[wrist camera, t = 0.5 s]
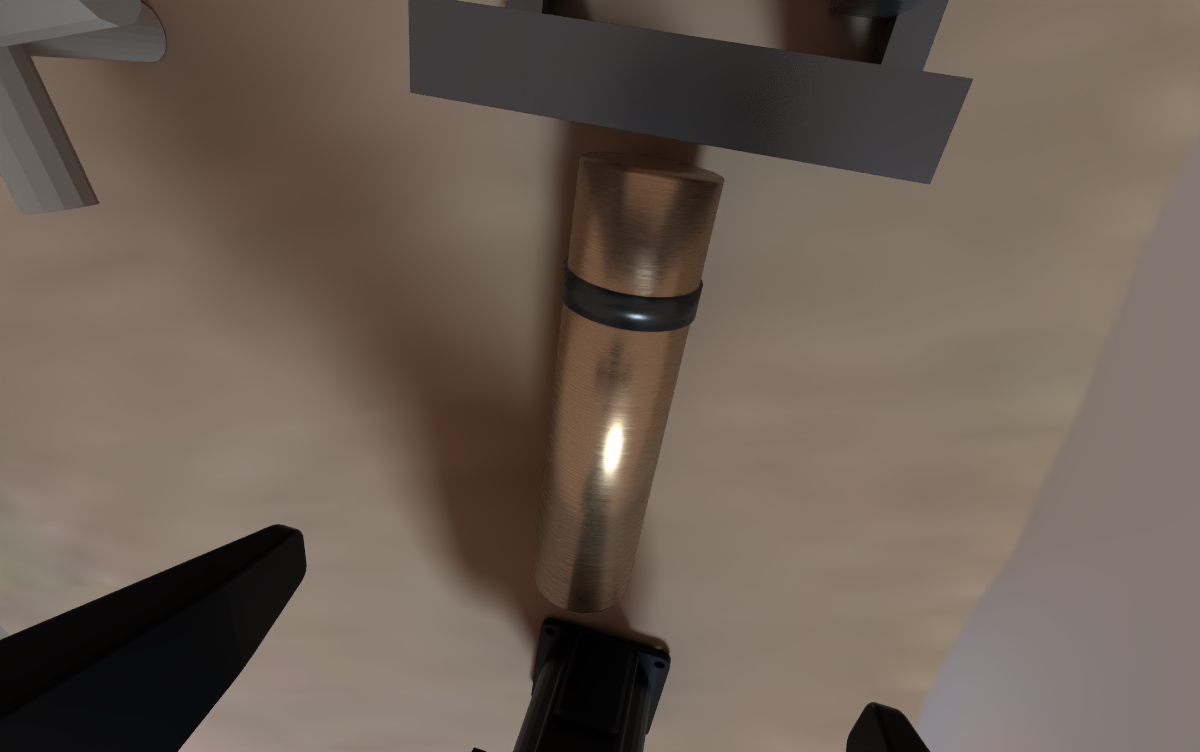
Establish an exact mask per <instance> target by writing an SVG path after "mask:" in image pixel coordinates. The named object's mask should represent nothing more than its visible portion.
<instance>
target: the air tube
mask: <svg viewBox="0 0 1200 752" xmlns="http://www.w3.org/2000/svg"><path fill="white" fill-rule="evenodd" d="M723 184H724V178H723V177H722V176H720V175H718V174H716V173H714V172H711V171H709V170H706V169H703V168H699V167H696V166H692V165H688V164H684V163H680V162H675V161H670V160H665V159H659V158H653V157H647V156H640V155H632V154H623V153H609V152H592V153H585V154H582V155H580V158H579V166H578V175H577V184H576V193H575V202H574V210H573V219H572V228H571V237H570V246H569V255H568V257H567V258H566V259H565V261H564V269H563V278H562V287H561V299H562V301H563V308H562V316H561V325H560V334H559V343H558V352H557V360H556V369H555V378H554V387H553V396H552V405H551V413H550V422H549V431H548V440H547V449H546V458H545V466H544V475H543V484H542V493H541V502H540V511H539V519H538V528H537V537H536V546H535V555H534V563H533V576H534V580H535V583H536V585H537V587H538V589H539V590H540V592H541V593H542V594H543V595H544V596H545V597H546V598H547V599H548V600H549V601H550V602H552V603H553V604H555V605H557V606H559V607H561V608H563V609H566V610H569V611H573V612H579V613H591V612H597V611H601V610H604V609H607V608H609V607H611V606H612V605H614V604H615V603H617V602H618V601H619V600H620V599H621V598H622V596H623V595H624V593H625V592H626V589H627V587H628V583H629V579H630V575H631V571H632V566H633V562H634V558H635V554H636V550H637V545H638V541H639V537H640V533H641V529H642V524H643V520H644V516H645V512H646V508H647V503H648V499H649V495H650V491H651V487H652V482H653V478H654V474H655V470H656V466H657V461H658V457H659V453H660V449H661V445H662V440H663V436H664V432H665V428H666V423H667V419H668V415H669V411H670V407H671V402H672V398H673V394H674V390H675V386H676V381H677V377H678V373H679V369H680V365H681V360H682V356H683V352H684V348H685V344H686V339H687V335H688V331H689V327H690V324H691V323H692V322H693V321H694V319H695V316H696V312H697V308H698V304H699V299H700V295H701V291H702V287H703V282H702V280H701V276H702V272H703V268H704V264H705V260H706V255H707V251H708V247H709V243H710V239H711V234H712V230H713V226H714V222H715V218H716V213H717V209H718V205H719V201H720V196H721V192H722V188H723Z"/></svg>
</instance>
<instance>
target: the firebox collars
mask: <svg viewBox="0 0 1200 752" xmlns="http://www.w3.org/2000/svg"><path fill="white" fill-rule="evenodd" d="M948 1H949V0H833V1H832V4H831V8H830V11H829V12H830V13H837V14H845V15H852V16H859V17H866V18H873V19H880V20H887V21H888V23H887V26H886V29H885V32H884V35H883V38H882V41H881V44H880V47H879V50H878V53H877V56H876V59H875V62H874V64H872V63H865V62H859V61H852V60H846V59H839V58H833V57H826V56H819V55H813V54H806V53H800V52H793V51H786V50H780V49H773V48H767V47H760V46H753V45H747V44H740V43H734V42H727V41H720V40H714V39H707V38H701V37H694V36H688V35H681V34H674V33H668V32H661V31H655V30H648V29H641V28H635V27H628V26H622V25H615V24H608V23H602V22H595V21H589V20H582V19H575V18H569V17H562V16H556V15H553V8H554V0H508V5H507V8H503V7H496V6H490V5H483V4H477V3H470V2H463V1H457V0H409V45H410V93H416V94H421V95H427V96H433V97H438V98H444V99H450V100H455V101H461V102H467V103H472V104H478V105H483V106H489V107H495V108H500V109H506V110H512V111H517V112H523V113H529V114H534V115H540V116H546V117H551V118H557V119H563V120H568V121H574V122H580V123H585V124H591V125H597V126H602V127H608V128H613V129H619V130H625V131H630V132H636V133H642V134H647V135H653V136H659V137H664V138H670V139H676V140H681V141H687V142H693V143H698V144H704V145H710V146H715V147H721V148H726V149H732V150H738V151H743V152H749V153H755V154H760V155H766V156H772V157H777V158H783V159H789V160H794V161H800V162H806V163H811V164H817V165H823V166H828V167H834V168H840V169H845V170H851V171H856V172H862V173H868V174H873V175H879V176H885V177H890V178H896V179H902V180H907V181H913V182H919V183H924V184H930V182H931V180H932V178H933V175H934V173H935V170H936V168H937V165H938V163H939V161H940V158H941V156H942V153H943V151H944V149H945V146H946V144H947V141H948V139H949V136H950V134H951V132H952V129H953V127H954V124H955V122H956V119H957V117H958V115H959V112H960V110H961V107H962V105H963V102H964V100H965V98H966V95H967V93H968V90H969V88H970V86H971V83H972V81H973V79H971V78H964V77H958V76H951V75H945V74H938V73H931V72H925V71H923V68H924V65H925V63H926V60H927V57H928V55H929V52H930V49H931V46H932V44H933V41H934V38H935V36H936V33H937V30H938V28H939V25H940V22H941V19H942V17H943V14H944V11H945V9H946V6H947V3H948Z"/></svg>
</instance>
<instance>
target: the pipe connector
mask: <svg viewBox="0 0 1200 752" xmlns="http://www.w3.org/2000/svg"><path fill="white" fill-rule="evenodd" d="M165 48H166V38H165V33H164V30H163V27H162V25H161V23H160V21H159V19H158V18H157V16H156V15H155V13H154V12H153V11H152V10H151V9H150V8H149V7H148V6H146V5H145V4H144V3H142V2H141V1H140V0H0V174H1V176H2V178H3V179H4V181H5V183H6V185H7V187H8V189H9V191H10V193H11V194H12V196H13V198H14V200H15V202H16V204H17V206H18V208H19V210H20V211H21V213H22V214H35V213H45V212H52V211H60V210H67V209H73V208H80V207H86V206H91V205H96V204H99V201H98V199H97V197H96V195H95V193H94V190H93V188H92V186H91V184H90V182H89V180H88V178H87V175H86V173H85V171H84V169H83V167H82V165H81V163H80V161H79V158H78V156H77V154H76V152H75V150H74V148H73V146H72V143H71V141H70V139H69V137H68V135H67V133H66V131H65V129H64V126H63V124H62V122H61V120H60V118H59V116H58V114H57V111H56V109H55V107H54V105H53V103H52V101H51V99H50V97H49V94H48V92H47V90H46V88H45V86H44V84H43V82H42V79H41V77H40V75H39V73H38V71H37V69H36V67H35V65H34V62H33V60H32V58H31V56H42V57H61V58H81V59H100V60H120V61H139V62H156V61H159V60H160V59H161V58H162V57H163V55H164V53H165Z"/></svg>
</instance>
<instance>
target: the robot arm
mask: <svg viewBox="0 0 1200 752" xmlns="http://www.w3.org/2000/svg"><path fill="white" fill-rule="evenodd" d="M306 567H307V565H306V556H305V547H304V539H303V534H302V533H301V531H300V530H298V529H295V528H291V527H288V526H285V525H280V524H276V525H272V526H269V527H267V528H264V529H262V530H260V531H257V532H255V533H253V534H250V535H248V536H246V537H243V538H241V539H238V540H236V541H234V542H231V543H229V544H227V545H224V546H222V547H219V548H217V549H215V550H212V551H210V552H208V553H205V554H203V555H200V556H198V557H196V558H193V559H191V560H189V561H186V562H184V563H181V564H179V565H177V566H174V567H172V568H170V569H167V570H165V571H162V572H160V573H158V574H155V575H153V576H151V577H148V578H146V579H143V580H141V581H139V582H136V583H134V584H132V585H129V586H127V587H124V588H122V589H120V590H117V591H115V592H113V593H110V594H108V595H105V596H103V597H101V598H98V599H96V600H94V601H91V602H89V603H86V604H84V605H82V606H79V607H77V608H75V609H72V610H70V611H67V612H65V613H63V614H60V615H58V616H56V617H53V618H51V619H48V620H46V621H44V622H41V623H39V624H37V625H34V626H32V627H29V628H27V629H25V630H22V631H20V632H18V633H15V634H13V635H10V636H8V637H6V638H3V639H1V640H0V752H178V751H179V749H180V748H181V747H182V746H183V744H184V743H185V742H186V741H187V739H188V738H189V737H190V735H191V734H192V733H193V732H194V730H195V729H196V728H197V727H198V725H199V724H200V723H201V722H202V720H203V719H204V718H205V717H206V715H207V714H208V713H209V712H210V710H211V709H212V708H213V707H214V705H215V704H216V703H217V702H218V700H219V699H220V698H221V697H222V695H223V694H224V693H225V692H226V690H227V689H228V688H229V687H230V685H231V684H232V683H233V682H234V680H235V679H236V678H237V676H238V675H239V674H240V672H241V671H242V670H243V669H244V667H245V666H246V664H247V663H248V661H249V660H250V659H251V657H252V656H253V654H254V653H255V651H256V650H257V648H258V647H259V645H260V644H261V642H262V641H263V639H264V638H265V636H266V635H267V633H268V632H269V630H270V629H271V627H272V626H273V624H274V622H275V621H276V619H277V618H278V616H279V615H280V613H281V612H282V610H283V609H284V607H285V606H286V604H287V603H288V601H289V600H290V598H291V597H292V595H293V594H294V592H295V591H296V589H297V588H298V586H299V585H300V583H301V581H302V580H303V578H304V575H305V572H306ZM670 662H671V658H670V656H669V655H668V654H667V653H666V652H664V651H661V650H657V649H654V648H651V647H647V646H644V645H641V644H637V643H634V642H631V641H627V640H624V639H621V638H617V637H614V636H611V635H607V634H604V633H601V632H597V631H594V630H591V629H587V628H584V627H581V626H577V625H574V624H571V623H567V622H564V621H561V620H557V619H554V618H546V619H545V620H544V621H543V624H542V626H541V630H540V637H539V644H538V651H537V658H536V665H535V673H534V680H533V687H532V694H531V695H532V698H531V701H530V704H529V707H528V710H527V713H526V716H525V718H524V721H523V724H522V727H521V730H520V733H519V736H518V739H517V741H516V744H515V747H514V750H513V752H643V749H644V742H645V736H646V734H648V732H649V730H650V727H651V724H652V720H653V717H654V714H655V711H656V708H657V705H658V702H659V699H660V696H661V693H662V690H663V687H664V684H665V681H666V678H667V675H668V672H669V669H670ZM472 752H486V751H484V750H481V749H478V748H475V747H474V748H473V750H472ZM846 752H930V751H929V749H928V748H927V747H926V745H925V744H924V742H923V741H922V740H921V738H920V736H919V735H918V733H917V732H916V731H915V729H914V728H913V726H912V725H911V723H910V722H909V720H908V719H907V718H906V716H905V715H904V714H903V713H902V712H901V711H899V710H897V709H895V708H892V707H889V706H885V705H882V704H879V703H875V702H871V703H869V704H867V706H866V707H865V708H864V710H863V712H862V713H861V715H860V717H859V718H858V720H857V722H856V723H855V725H854V727H853V728H852V730H851V732H850V734H849V736H848V739H847V746H846Z"/></svg>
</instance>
